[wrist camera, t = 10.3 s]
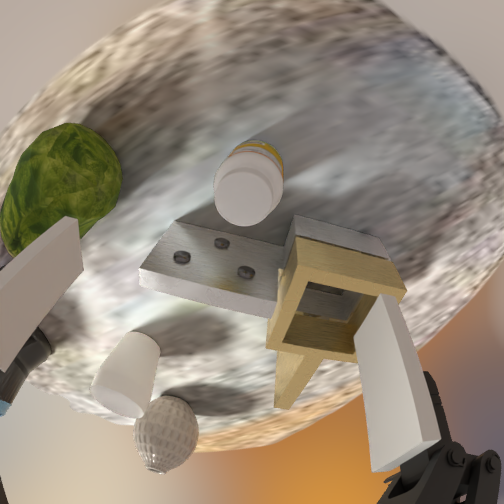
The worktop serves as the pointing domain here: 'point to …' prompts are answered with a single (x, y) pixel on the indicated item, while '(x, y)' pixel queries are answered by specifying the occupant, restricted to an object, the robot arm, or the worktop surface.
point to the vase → (166, 434)
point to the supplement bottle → (249, 183)
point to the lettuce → (59, 185)
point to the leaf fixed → (248, 268)
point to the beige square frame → (315, 329)
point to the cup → (127, 376)
